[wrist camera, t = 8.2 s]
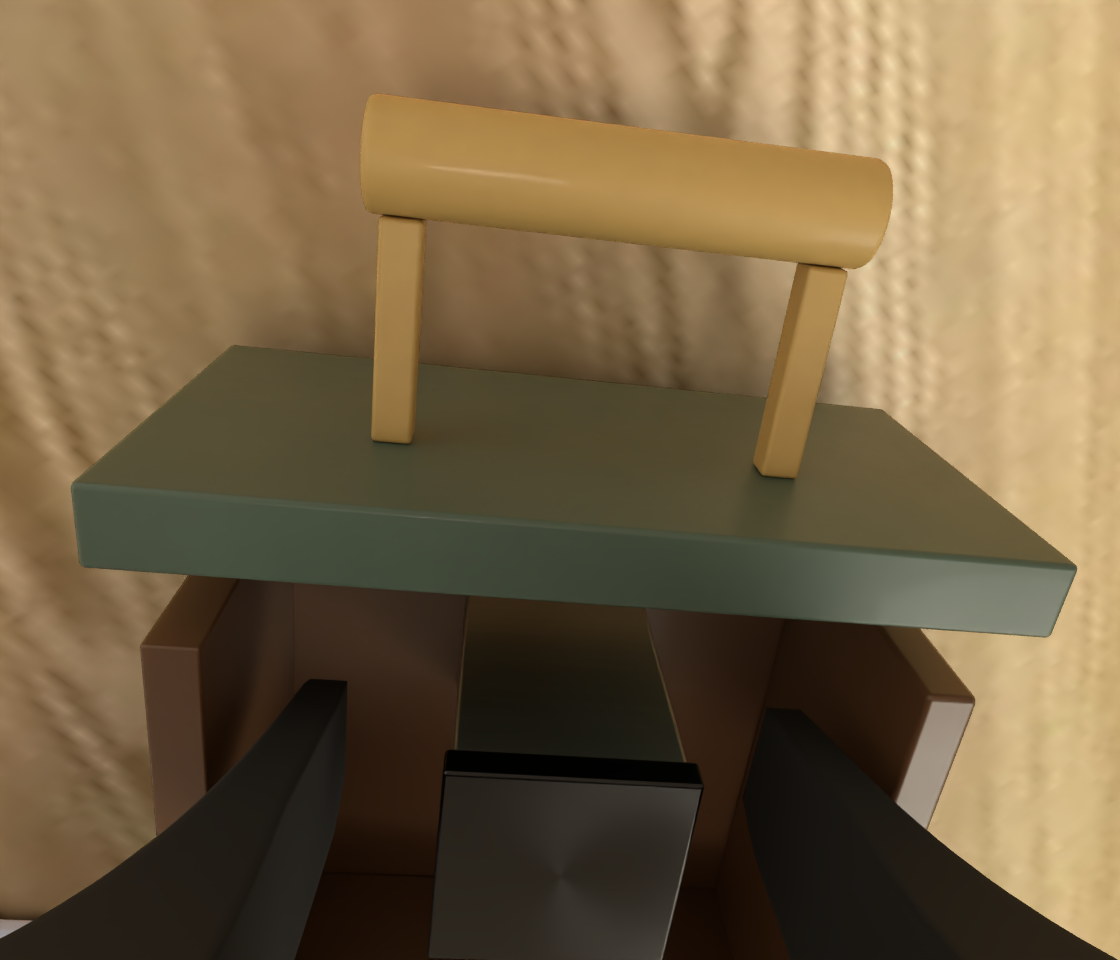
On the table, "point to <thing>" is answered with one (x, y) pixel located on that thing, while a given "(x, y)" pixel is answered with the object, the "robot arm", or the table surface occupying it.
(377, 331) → the drawer
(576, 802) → the metal-capped square post
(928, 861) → the robot arm
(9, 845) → the table surface
